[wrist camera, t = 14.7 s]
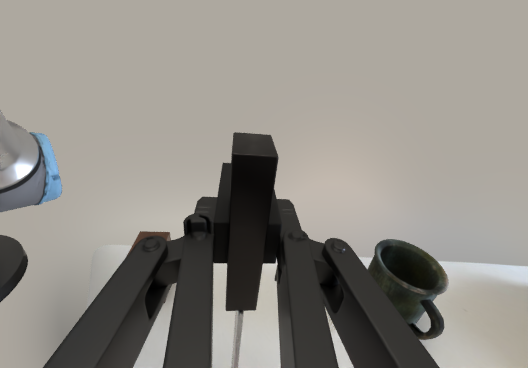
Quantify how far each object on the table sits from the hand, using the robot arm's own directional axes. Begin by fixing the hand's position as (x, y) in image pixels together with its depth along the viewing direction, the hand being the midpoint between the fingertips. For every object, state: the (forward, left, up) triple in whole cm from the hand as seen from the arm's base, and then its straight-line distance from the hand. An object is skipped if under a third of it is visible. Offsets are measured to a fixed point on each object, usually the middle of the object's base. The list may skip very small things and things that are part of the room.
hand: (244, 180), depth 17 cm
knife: (+4, -4, -18) cm, 19 cm away
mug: (+14, +26, -31) cm, 43 cm away
